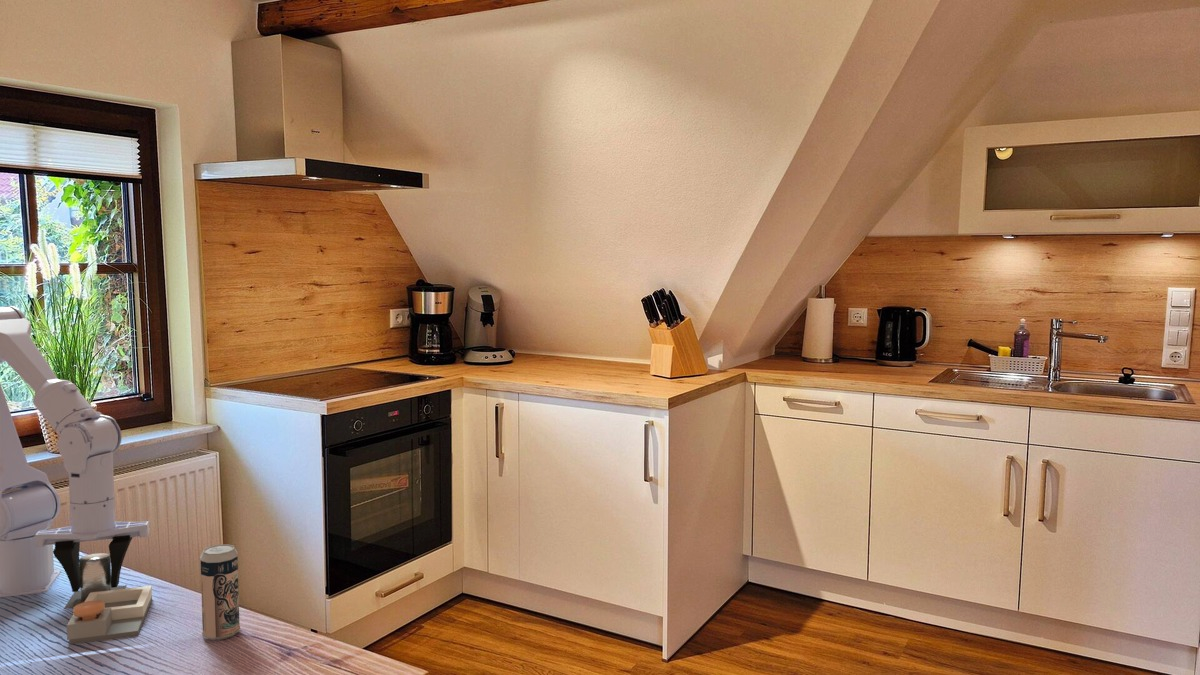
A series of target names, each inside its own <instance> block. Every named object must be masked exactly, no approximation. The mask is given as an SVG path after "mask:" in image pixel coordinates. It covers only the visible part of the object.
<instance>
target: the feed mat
mask: <svg viewBox="0 0 1200 675" xmlns="http://www.w3.org/2000/svg"><path fill="white" fill-rule="evenodd" d="M127 586H128V585H127V584H126V585H118V586H117V587H114V588H112V590H118V589H127ZM83 602H85V601H82V600H81V591H80V589H79V590H78V592H72V595H71V596H70V598H69V600H67V603H66V604H65V605H64V607H63V609H64V610H65V609H73V608H74V607H75V606H76V605H78V604H80V603H83Z"/></svg>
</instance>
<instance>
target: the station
mask: <svg viewBox="0 0 1200 675" xmlns="http://www.w3.org/2000/svg"><path fill="white" fill-rule="evenodd" d="M152 588H153V587H152V585H145V586H136V587H128V588H127V587H126V588H125V589H118V590H109V591H100V592H91V593H90V594H89V595H88V597H87V599H86V600H85V602H87V601H96V600H98V601H103V602H104V603H105V610H104V611H103V612H101V613H99V614H97V615H96V616H97V619H90V620H83V617H76V616H74V613H73V614H72V616H71V617H70V619H69V621H68V622H67V624H66V640H68V641H69V642H68V644H69V645H74V644H75V645H76V644H83V643H91V642H98V641H105V640H106V641H107V640H113V639H121V638H129V637H136V636H137V637H138V636H139V633H140V631H141V629H142V626H143V624H144V621H145V619H146V616H147V614H148V611H149V610H150V609H149V608H150V606H151V603H152V601H153V591H152V590H153V589H152Z"/></svg>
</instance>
